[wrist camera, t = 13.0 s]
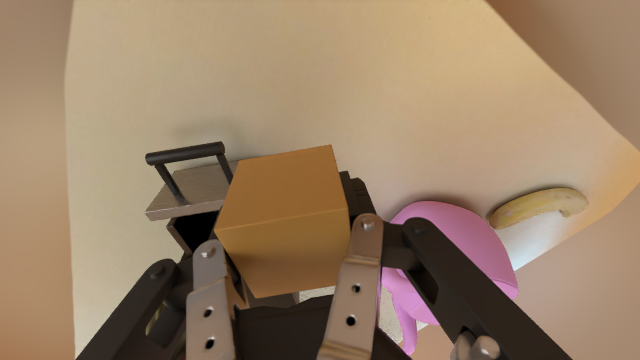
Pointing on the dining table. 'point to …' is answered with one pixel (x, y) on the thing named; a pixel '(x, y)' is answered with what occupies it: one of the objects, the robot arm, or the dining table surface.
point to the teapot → (470, 239)
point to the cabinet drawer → (191, 193)
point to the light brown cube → (286, 221)
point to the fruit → (539, 206)
